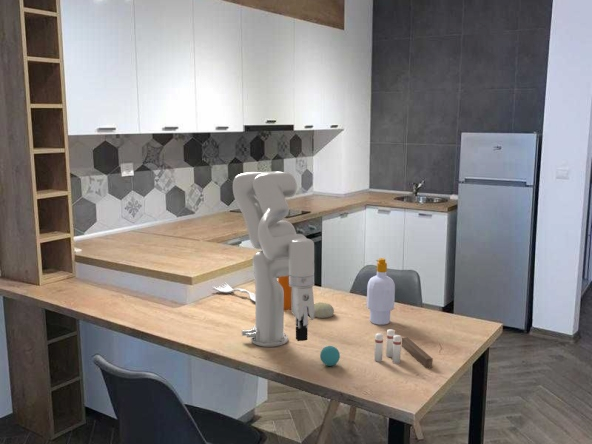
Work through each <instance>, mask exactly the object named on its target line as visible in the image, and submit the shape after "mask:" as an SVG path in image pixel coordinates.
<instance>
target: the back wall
mask: <svg viewBox="0 0 592 444" xmlns="http://www.w3.org/2000/svg"><path fill="white" fill-rule="evenodd" d="M401 348H403V349H404V350H405V351H406V352H407V353H408V354H409V355H411V356H412V357H413V358H414V360H416V361H417V362H418V363H420V364H421V365H422V366H423V367H424V368H425V369H432V368H433V362H434V361H433V360H434V359H433V357H431V356H430V355H429V354H428V353H427V352H426V351H424V350H423V349H422V348H421V347H420V346H419V345H417V344H416V343H415V342H414V341H413V340H411V339H410V338H409V337H401Z"/></svg>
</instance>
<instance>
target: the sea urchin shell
mask: <svg viewBox="0 0 592 444" xmlns="http://www.w3.org/2000/svg"><path fill="white" fill-rule="evenodd" d="M334 309H335V308H334V307H333V306H332V304H330V303H327V302H316V303H315V302H314V318H317V319H329V318H331V317H332V316H334V313H335V310H334Z"/></svg>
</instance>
